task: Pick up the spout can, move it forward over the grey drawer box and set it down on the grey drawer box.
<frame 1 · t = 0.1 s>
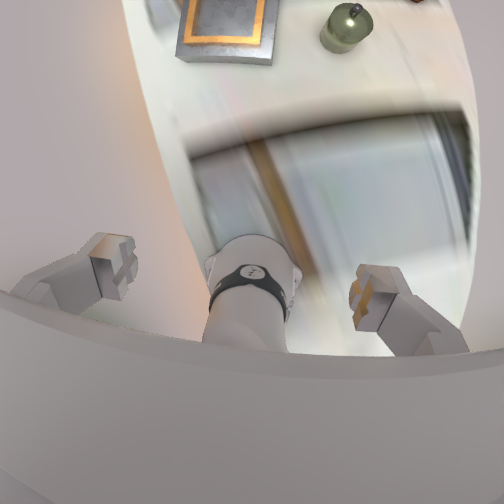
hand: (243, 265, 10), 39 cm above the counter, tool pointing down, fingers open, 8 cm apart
grey drawer box: (232, 26, 35), on the counter
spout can: (336, 39, 35), on the counter
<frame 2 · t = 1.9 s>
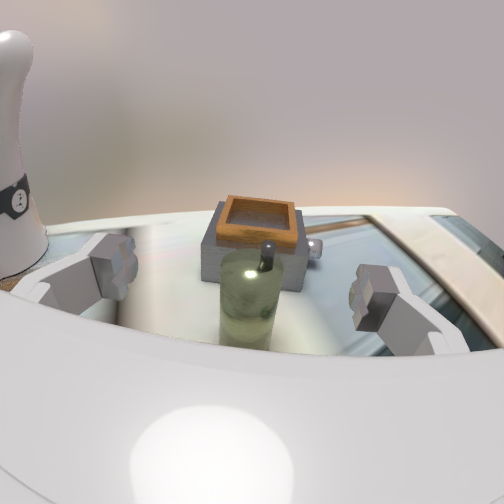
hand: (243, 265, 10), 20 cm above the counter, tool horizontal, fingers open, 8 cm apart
grey drawer box: (254, 258, 46), on the counter
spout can: (244, 342, 31), on the counter
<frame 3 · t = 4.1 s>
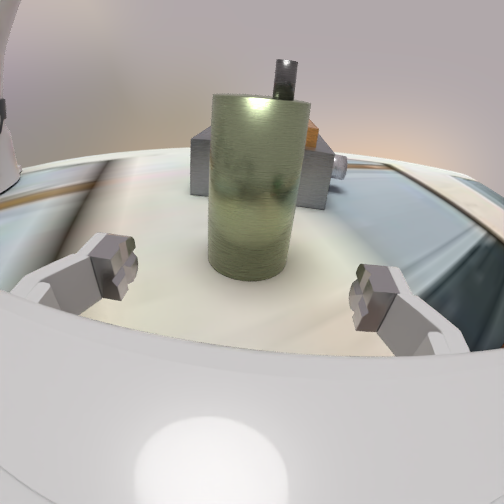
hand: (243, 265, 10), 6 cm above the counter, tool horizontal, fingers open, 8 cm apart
grey drawer box: (260, 179, 35), on the counter
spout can: (247, 256, 21), on the counter
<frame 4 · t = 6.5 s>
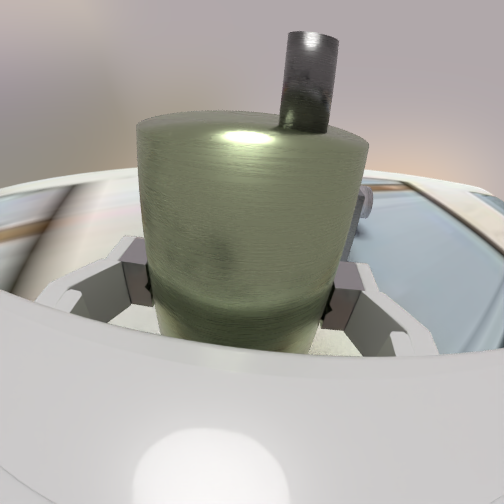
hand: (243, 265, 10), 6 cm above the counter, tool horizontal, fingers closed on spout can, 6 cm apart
grey drawer box: (257, 216, 27), on the counter
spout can: (232, 379, 12), on the counter, touching gripper
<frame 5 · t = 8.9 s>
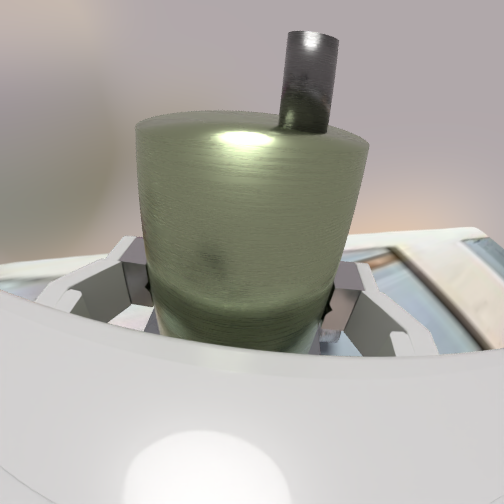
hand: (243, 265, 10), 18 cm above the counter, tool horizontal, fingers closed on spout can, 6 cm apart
grey drawer box: (235, 338, 29), on the counter
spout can: (232, 379, 12), point 12 cm above the counter, touching gripper
when the fingers open (13 cm above the counter, at t = 11.4 s): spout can stays where it is, resting on grey drawer box.
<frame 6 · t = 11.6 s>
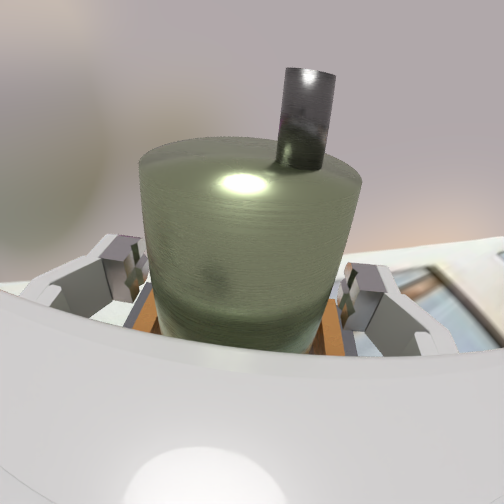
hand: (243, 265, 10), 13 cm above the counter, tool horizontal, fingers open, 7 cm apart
grey drawer box: (229, 427, 16), on the counter
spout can: (232, 388, 13), point 6 cm above the counter, touching grey drawer box
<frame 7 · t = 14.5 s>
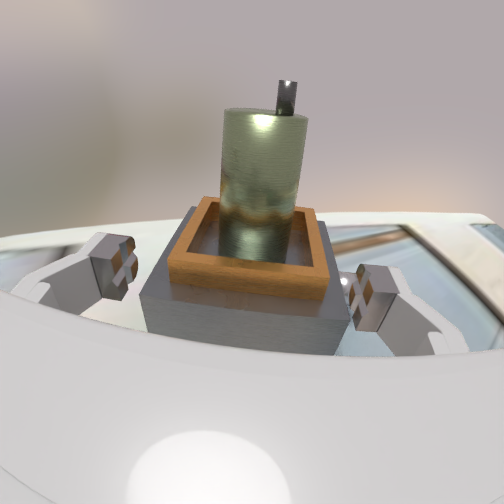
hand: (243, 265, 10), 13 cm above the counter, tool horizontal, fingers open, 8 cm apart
grey drawer box: (246, 302, 27), on the counter
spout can: (252, 250, 23), point 6 cm above the counter, touching grey drawer box
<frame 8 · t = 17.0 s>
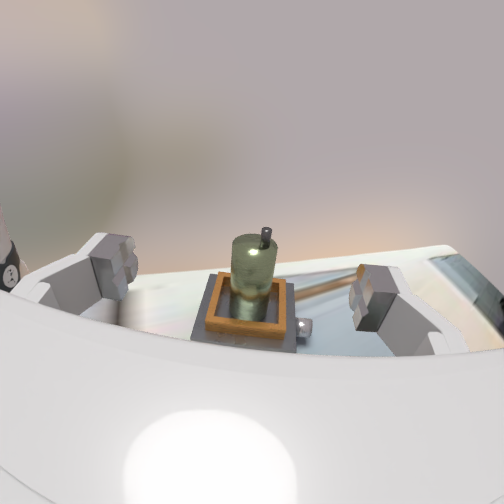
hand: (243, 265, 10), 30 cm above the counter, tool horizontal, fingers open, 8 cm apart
grey drawer box: (245, 334, 45), on the counter
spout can: (248, 308, 42), point 6 cm above the counter, touching grey drawer box
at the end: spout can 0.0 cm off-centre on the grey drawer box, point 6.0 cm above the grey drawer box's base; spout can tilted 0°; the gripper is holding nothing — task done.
